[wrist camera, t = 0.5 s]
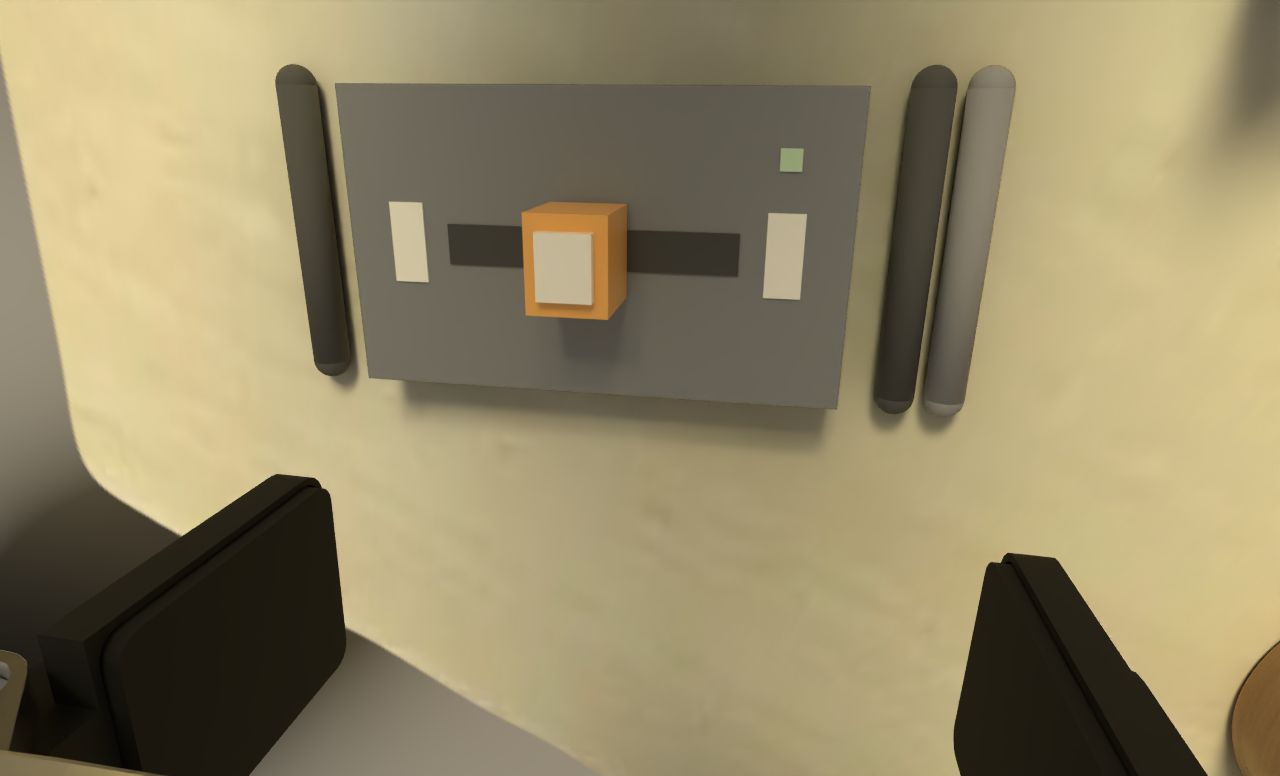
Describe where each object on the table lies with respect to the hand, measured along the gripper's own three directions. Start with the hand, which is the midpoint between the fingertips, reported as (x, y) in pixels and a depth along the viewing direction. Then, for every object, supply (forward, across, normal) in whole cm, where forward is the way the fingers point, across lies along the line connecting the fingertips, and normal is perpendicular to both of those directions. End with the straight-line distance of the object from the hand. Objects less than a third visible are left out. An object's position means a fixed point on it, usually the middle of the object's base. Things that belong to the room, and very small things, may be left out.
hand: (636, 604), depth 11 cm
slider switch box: (+23, +5, -2) cm, 24 cm away
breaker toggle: (+20, +5, -2) cm, 21 cm away
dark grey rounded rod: (+23, +18, -2) cm, 30 cm away
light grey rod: (+23, -9, -2) cm, 25 cm away
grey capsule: (+23, -7, -2) cm, 24 cm away
